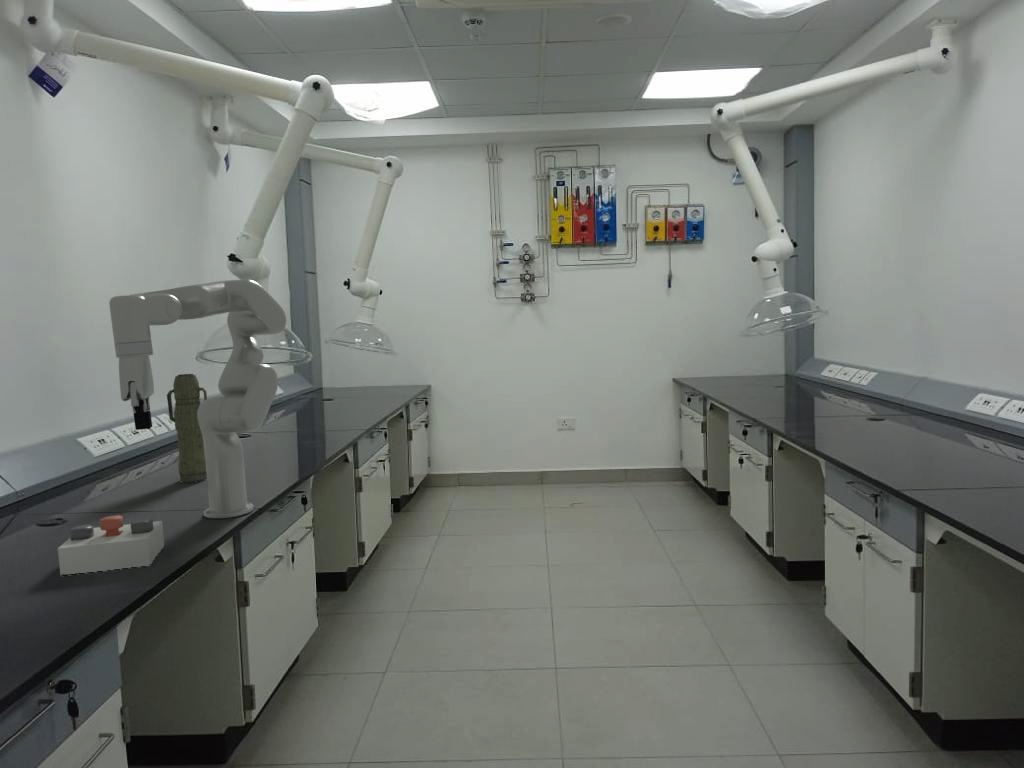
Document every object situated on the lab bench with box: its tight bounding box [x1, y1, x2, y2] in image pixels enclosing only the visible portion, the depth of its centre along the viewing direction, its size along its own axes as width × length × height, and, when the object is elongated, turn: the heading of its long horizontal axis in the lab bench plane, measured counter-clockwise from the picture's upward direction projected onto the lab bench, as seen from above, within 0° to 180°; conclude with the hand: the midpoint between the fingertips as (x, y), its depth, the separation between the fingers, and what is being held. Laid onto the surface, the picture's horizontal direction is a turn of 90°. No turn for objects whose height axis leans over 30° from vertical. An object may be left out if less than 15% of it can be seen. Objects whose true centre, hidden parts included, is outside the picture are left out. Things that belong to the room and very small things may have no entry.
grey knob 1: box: [69, 524, 94, 540], centre depth 155 cm, size 4×4×6 cm
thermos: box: [166, 373, 208, 483], centre depth 233 cm, size 9×12×35 cm
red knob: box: [99, 515, 124, 537], centre depth 156 cm, size 4×4×6 cm
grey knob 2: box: [130, 518, 154, 534], centre depth 158 cm, size 4×4×6 cm
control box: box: [57, 520, 165, 576], centre depth 156 cm, size 14×17×6 cm
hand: (144, 428), depth 164 cm, fingers closed
